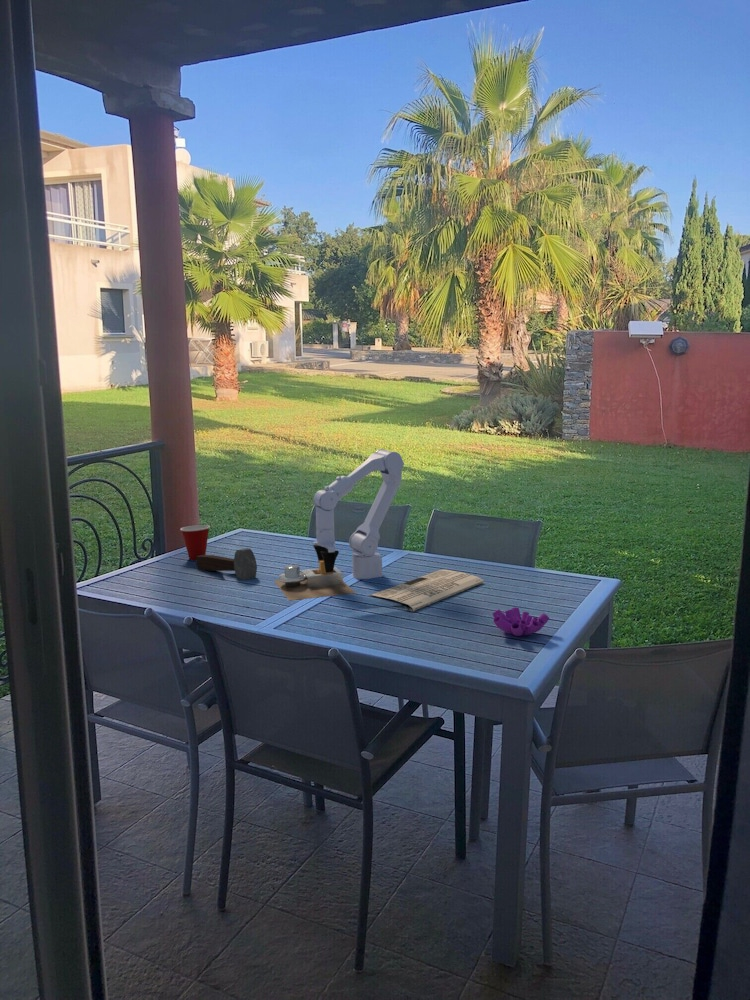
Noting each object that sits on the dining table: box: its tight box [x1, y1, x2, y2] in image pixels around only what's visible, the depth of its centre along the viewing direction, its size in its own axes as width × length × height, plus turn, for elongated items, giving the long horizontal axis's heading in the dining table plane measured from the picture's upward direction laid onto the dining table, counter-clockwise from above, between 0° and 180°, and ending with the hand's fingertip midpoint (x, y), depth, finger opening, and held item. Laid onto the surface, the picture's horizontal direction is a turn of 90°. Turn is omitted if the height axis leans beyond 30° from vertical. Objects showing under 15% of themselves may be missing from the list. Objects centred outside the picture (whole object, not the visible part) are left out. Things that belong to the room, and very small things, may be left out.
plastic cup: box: [179, 524, 211, 561], centre depth 290 cm, size 11×11×12 cm
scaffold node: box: [278, 564, 344, 587], centre depth 252 cm, size 20×9×6 cm, turn 109°
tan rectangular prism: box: [318, 560, 333, 574], centre depth 253 cm, size 4×2×7 cm, turn 107°
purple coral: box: [492, 606, 550, 637], centre depth 209 cm, size 11×15×10 cm
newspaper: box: [368, 569, 484, 612], centre depth 247 cm, size 37×19×3 cm, turn 139°
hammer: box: [195, 547, 258, 581], centre depth 268 cm, size 5×11×30 cm
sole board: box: [274, 579, 356, 602], centre depth 249 cm, size 21×22×2 cm
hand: (326, 569), depth 253 cm, fingers open, 7 cm apart
